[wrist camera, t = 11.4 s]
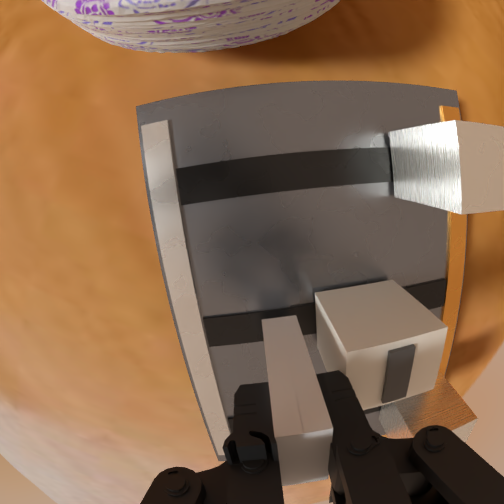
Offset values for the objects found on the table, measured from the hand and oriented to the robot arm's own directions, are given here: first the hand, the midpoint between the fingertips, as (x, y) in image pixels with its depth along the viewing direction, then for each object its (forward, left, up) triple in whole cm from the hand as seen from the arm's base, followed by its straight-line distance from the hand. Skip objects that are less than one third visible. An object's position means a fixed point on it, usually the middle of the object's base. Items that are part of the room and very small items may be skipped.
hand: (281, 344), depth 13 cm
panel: (+3, 0, -4) cm, 5 cm away
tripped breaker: (+4, 0, -1) cm, 4 cm away
